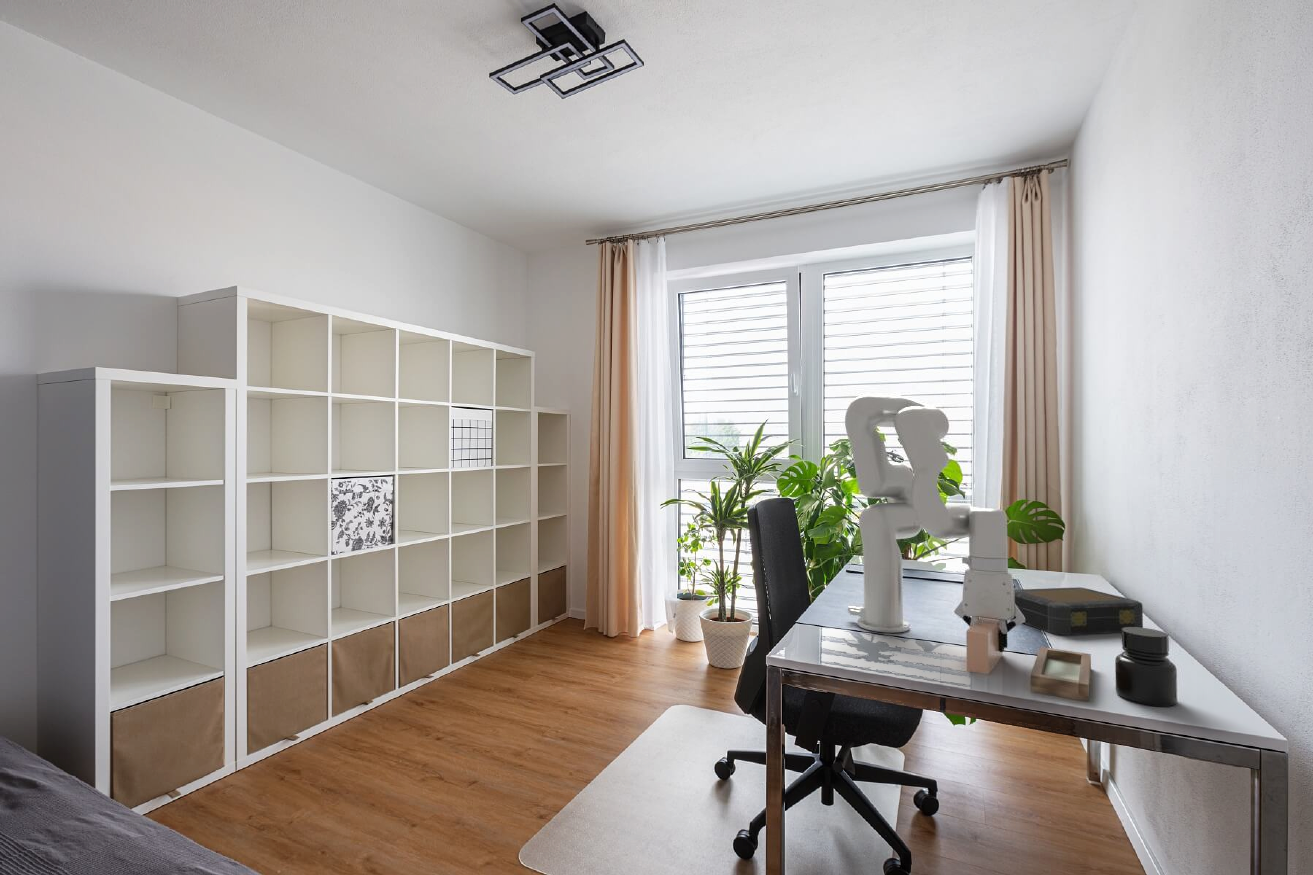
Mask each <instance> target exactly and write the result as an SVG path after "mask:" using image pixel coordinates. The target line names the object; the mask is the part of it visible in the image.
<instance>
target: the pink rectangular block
mask: <svg viewBox="0 0 1313 875" xmlns="http://www.w3.org/2000/svg"><path fill="white" fill-rule="evenodd" d="M1000 629H1001V628H1000V624H999V620H996V619H988V618H980V617H979V619H978V620H977V621H976V622H975V623H974V624H973V625H972V626H971V627H970V626H969V628H968V629H967V630H966V632H965V633H966V635H965V636H966V637H965V638H966V640H965V641H966V671H967V672H972V673H978V674H979V673H980V674H982V675H983V674H984V675H990V674H991V671H993V669H994V668H995V667H996V665H997V663H998V662H999V660H1000V659H1001V658H1002V657H1003V652H1000V651H999V633H1000Z"/></svg>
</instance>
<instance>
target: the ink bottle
mask: <svg viewBox="0 0 1313 875" xmlns="http://www.w3.org/2000/svg"><path fill="white" fill-rule="evenodd" d="M1169 639H1170V638H1169V634H1168V633H1167V632H1164V631H1161V630H1157V629H1154V628H1149V627H1143V628H1140V627H1124V628H1122V633H1121V645H1122V646H1121V649H1122V650H1123V651H1122V652H1120V654H1118V655H1117V656H1116V657H1115V661H1114V662H1115V664H1114V666H1115V667H1114V668H1115V669H1114V670H1115V671H1114V673H1115V692H1116V694H1117V695H1118V696H1120V697H1122V698H1123V699H1126V700H1128V701H1132V702H1134V703H1138V704H1141V705H1146V706H1155V707H1170V706H1174V705H1176V704H1178V673H1177V672H1178V671H1177V667H1176V665H1175V664H1174V663H1173V661H1171V660H1170V659H1169V658H1168V656H1169V655H1170V654H1169V651H1170V649H1169V648H1170V645H1169V644H1170V642H1169Z"/></svg>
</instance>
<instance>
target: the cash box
mask: <svg viewBox="0 0 1313 875" xmlns="http://www.w3.org/2000/svg"><path fill="white" fill-rule="evenodd" d="M1014 592H1015V604H1016V606H1017V607H1018V608H1019V610H1020V611H1021V613H1022V614H1023V616H1024V617H1025V618H1026V620H1025V622H1024V623H1025V624H1024V625H1026V624H1027V625H1026V626H1029V625H1030V626H1029V627H1032V626H1033V627H1032V628H1035V629H1037V628H1038V630H1040V629H1041V630H1040V631H1043V632H1047V633H1049V634H1052V635H1054V636H1063V637H1064V636H1066V637H1068V636H1069V637H1070V636H1084V635H1088V634H1089V635H1102V634H1103V635H1105V634H1122V628H1124V627H1140V628H1144V623H1143V620H1144V619H1143V617H1144V614H1143V613H1144V612H1143V609H1144V608H1143V607H1144V606H1143V603H1142V602H1140V601H1138V600H1135V599H1132V598H1128V597H1123V596H1119V595H1114V594H1111V593H1106V592H1103V591H1099V590H1098V591H1097V590H1095V589H1091V588H1085V587H1077V586H1076V587H1057V588H1056V587H1053V588H1052V587H1051V588H1029V589H1028V588H1026V589H1025V588H1024V589H1023V588H1022V589H1021V588H1020V589H1014ZM1014 619H1016V616H1015V615H1014V617H1013V619H1011V621H1012V620H1014Z"/></svg>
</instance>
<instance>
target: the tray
mask: <svg viewBox="0 0 1313 875" xmlns="http://www.w3.org/2000/svg"><path fill="white" fill-rule="evenodd" d="M1091 656H1092V655H1091V653H1085V652H1079V651H1078V652H1077V651H1071V650H1066V649H1065V650H1064V649H1058V648H1052V647H1046V646H1045V647H1044V646H1040V647H1039V650H1038V652H1037V655H1036V658H1035V662H1034V664H1033V667H1032V669H1031V673H1030V692H1033V693H1039V694H1044V695H1049V696H1055V697H1061V698H1065V699H1072V700H1077V701H1082V702H1088V703H1089V702H1090V688H1091V673H1092V662H1091V661H1092V659H1091Z"/></svg>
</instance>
